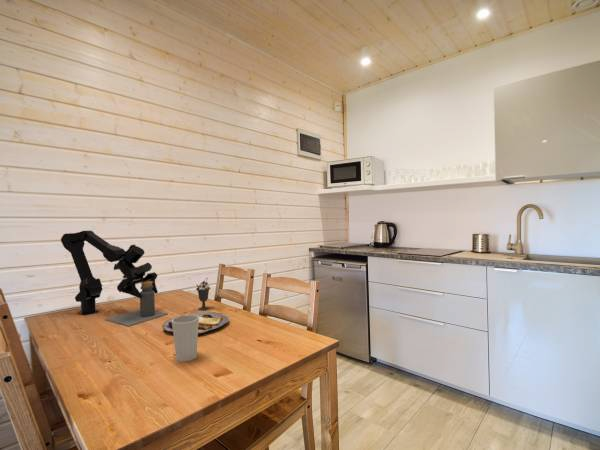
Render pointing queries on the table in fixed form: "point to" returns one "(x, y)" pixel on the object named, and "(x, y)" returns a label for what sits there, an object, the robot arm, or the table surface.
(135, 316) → the mat
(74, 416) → the table surface
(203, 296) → the sundae
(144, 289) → the bottle
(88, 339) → the table surface
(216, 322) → the food plate
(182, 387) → the table surface
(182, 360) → the cup
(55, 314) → the table surface
